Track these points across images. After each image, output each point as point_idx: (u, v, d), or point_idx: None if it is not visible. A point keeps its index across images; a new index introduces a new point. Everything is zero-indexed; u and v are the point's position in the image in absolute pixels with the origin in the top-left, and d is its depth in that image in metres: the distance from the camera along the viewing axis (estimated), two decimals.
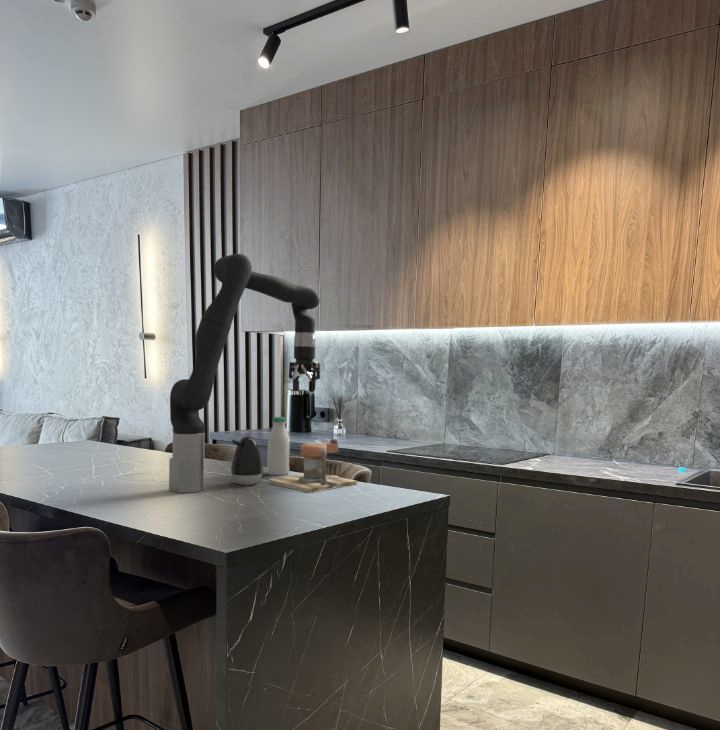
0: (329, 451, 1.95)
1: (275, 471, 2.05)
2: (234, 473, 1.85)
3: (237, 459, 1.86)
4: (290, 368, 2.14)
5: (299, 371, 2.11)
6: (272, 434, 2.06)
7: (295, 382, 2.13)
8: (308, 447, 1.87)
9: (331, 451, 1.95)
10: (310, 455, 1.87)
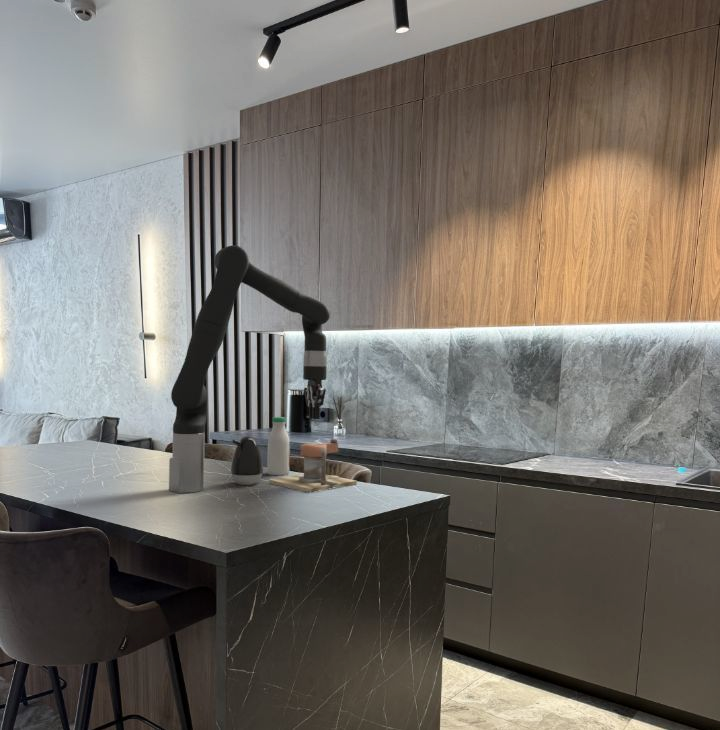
0: (329, 451, 1.95)
1: (275, 471, 2.05)
2: (234, 473, 1.85)
3: (237, 459, 1.86)
4: None
5: None
6: (272, 434, 2.06)
7: None
8: (308, 447, 1.87)
9: (331, 451, 1.95)
10: (310, 455, 1.87)
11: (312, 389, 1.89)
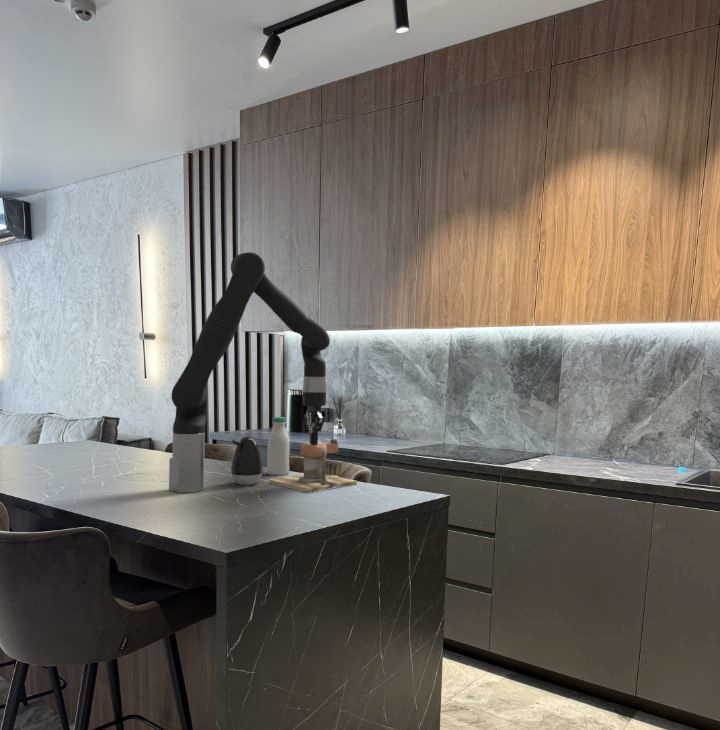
0: (329, 451, 1.95)
1: (275, 471, 2.05)
2: (234, 473, 1.85)
3: (237, 459, 1.86)
4: None
5: None
6: (272, 434, 2.06)
7: None
8: (308, 447, 1.87)
9: (331, 451, 1.95)
10: (310, 455, 1.87)
11: (311, 415, 1.89)
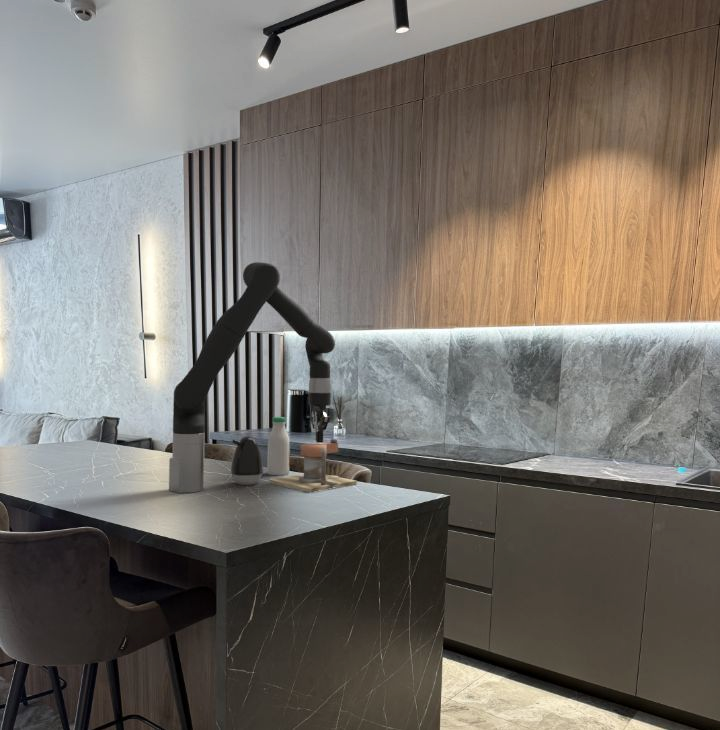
0: (329, 451, 1.95)
1: (275, 471, 2.05)
2: (234, 473, 1.85)
3: (237, 459, 1.86)
4: None
5: None
6: (272, 434, 2.06)
7: None
8: (308, 447, 1.87)
9: (331, 451, 1.95)
10: (310, 455, 1.87)
11: (317, 415, 1.99)
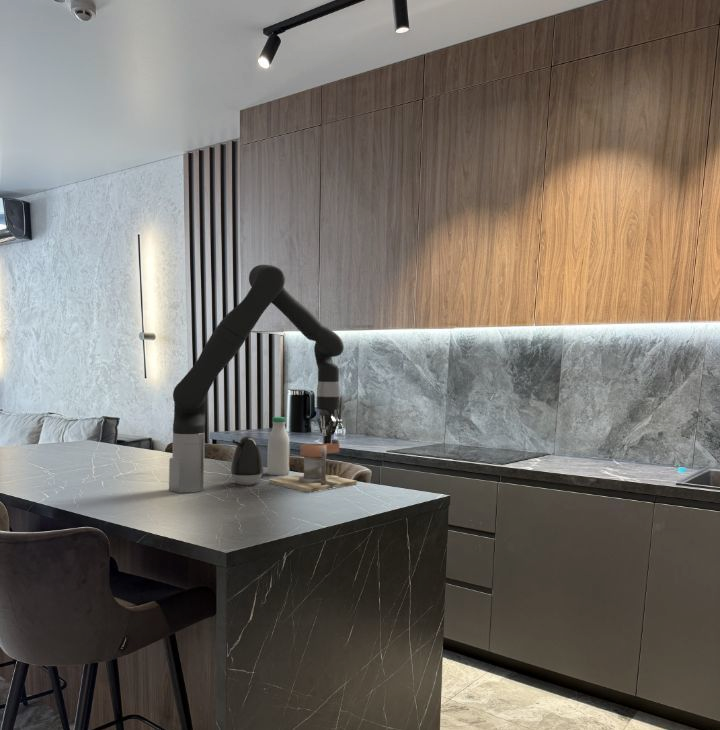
0: (330, 451, 1.94)
1: (275, 471, 2.05)
2: (234, 473, 1.85)
3: (237, 459, 1.86)
4: None
5: None
6: (272, 434, 2.06)
7: None
8: (307, 447, 1.87)
9: (332, 451, 1.95)
10: (309, 455, 1.87)
11: (325, 419, 1.96)
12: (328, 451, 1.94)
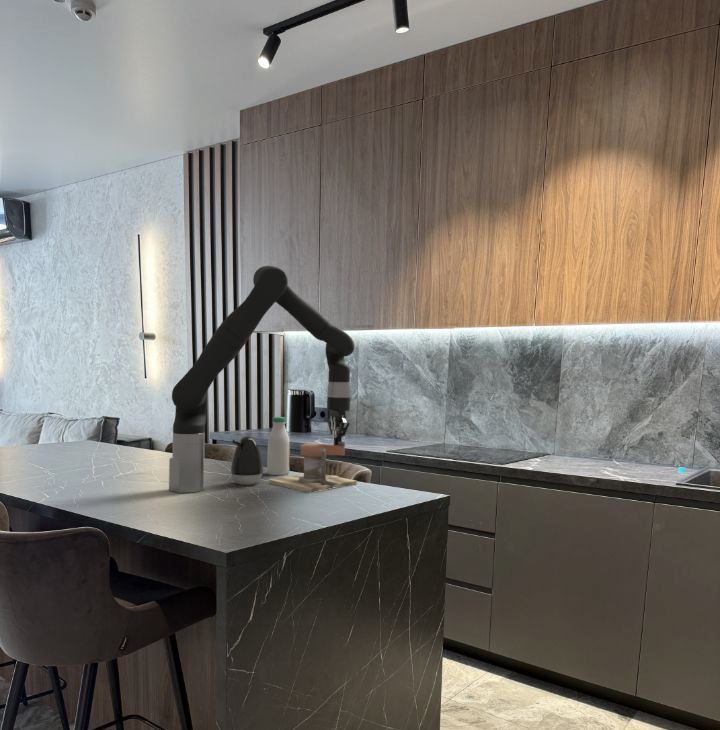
0: (332, 453, 1.90)
1: (275, 471, 2.05)
2: (234, 473, 1.85)
3: (237, 459, 1.86)
4: None
5: None
6: (272, 434, 2.06)
7: None
8: (301, 446, 1.89)
9: (334, 453, 1.90)
10: (302, 454, 1.89)
11: (336, 420, 1.92)
12: (329, 453, 1.90)
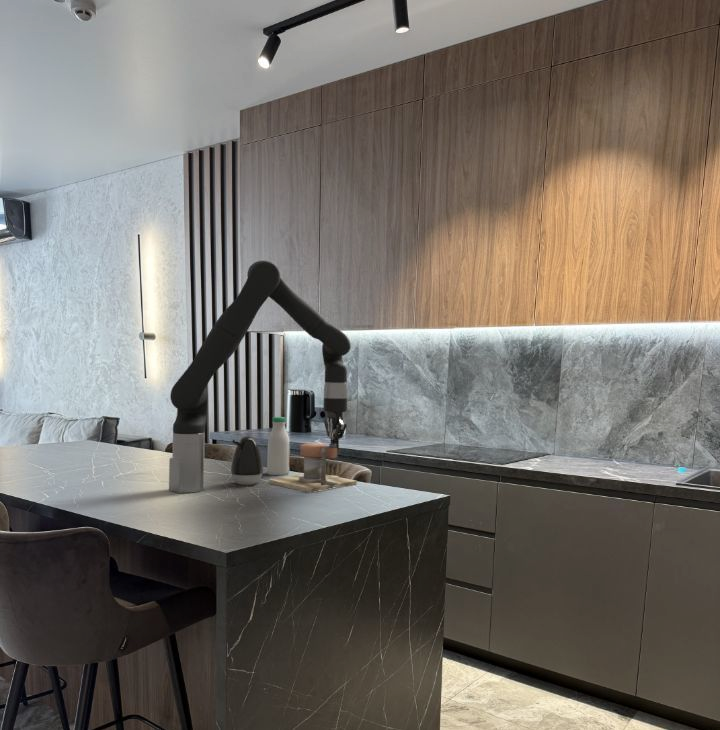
0: None
1: (275, 471, 2.05)
2: (234, 473, 1.85)
3: (237, 459, 1.86)
4: None
5: None
6: (272, 434, 2.06)
7: None
8: None
9: (326, 455, 1.86)
10: None
11: (332, 422, 1.86)
12: None
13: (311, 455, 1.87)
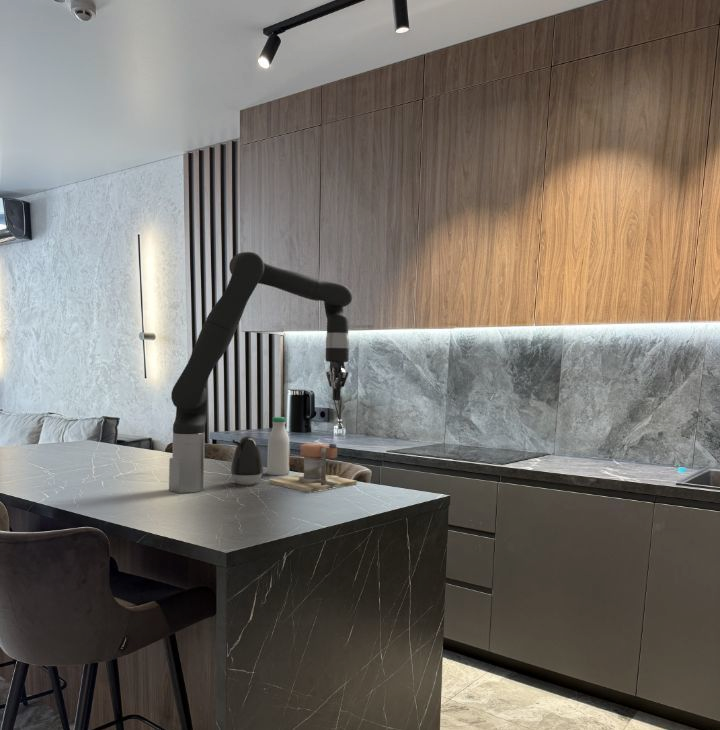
0: None
1: (275, 471, 2.05)
2: (234, 473, 1.85)
3: (237, 459, 1.86)
4: None
5: None
6: (272, 434, 2.06)
7: None
8: None
9: None
10: None
11: (334, 371, 1.91)
12: None
13: (311, 455, 1.87)
